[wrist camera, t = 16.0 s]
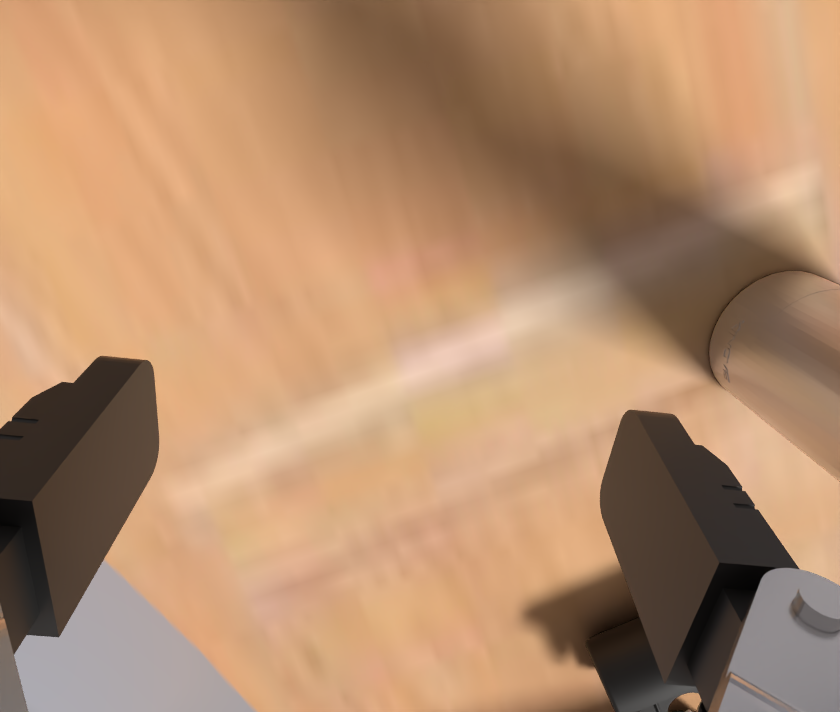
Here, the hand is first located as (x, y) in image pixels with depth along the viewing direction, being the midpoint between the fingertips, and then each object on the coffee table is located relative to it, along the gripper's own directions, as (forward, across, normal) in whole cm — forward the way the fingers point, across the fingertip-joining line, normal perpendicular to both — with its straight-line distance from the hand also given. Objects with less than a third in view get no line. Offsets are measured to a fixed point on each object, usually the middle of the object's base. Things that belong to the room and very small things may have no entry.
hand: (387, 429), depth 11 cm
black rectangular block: (+28, -23, +35) cm, 50 cm away
